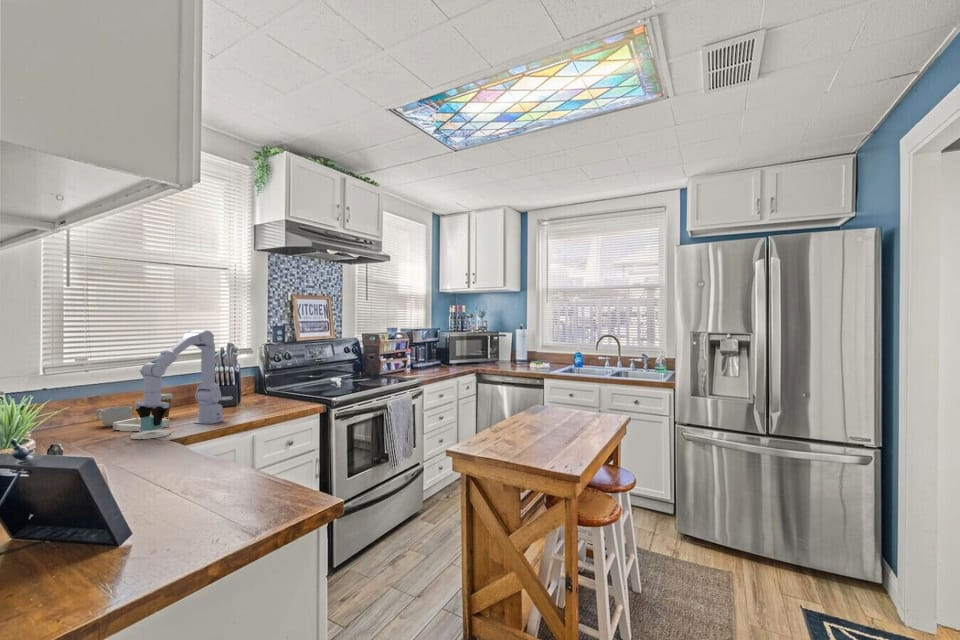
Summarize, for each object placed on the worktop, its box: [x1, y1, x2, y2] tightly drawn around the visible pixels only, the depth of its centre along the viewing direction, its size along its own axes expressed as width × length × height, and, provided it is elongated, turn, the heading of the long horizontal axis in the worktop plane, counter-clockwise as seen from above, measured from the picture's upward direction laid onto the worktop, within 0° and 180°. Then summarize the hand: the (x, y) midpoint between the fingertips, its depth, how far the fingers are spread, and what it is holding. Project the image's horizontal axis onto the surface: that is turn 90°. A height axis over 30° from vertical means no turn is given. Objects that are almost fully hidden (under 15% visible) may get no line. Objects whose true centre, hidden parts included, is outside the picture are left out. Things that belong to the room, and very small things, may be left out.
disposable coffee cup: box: [150, 393, 174, 418], centre depth 207 cm, size 10×10×12 cm
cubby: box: [112, 417, 171, 433], centre depth 186 cm, size 17×11×4 cm, turn 81°
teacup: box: [95, 405, 133, 428], centre depth 192 cm, size 14×11×8 cm
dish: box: [130, 429, 172, 439], centre depth 173 cm, size 13×13×1 cm
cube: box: [140, 415, 163, 431], centre depth 174 cm, size 5×5×5 cm
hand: (151, 425), depth 174 cm, fingers closed on cube, 5 cm apart
